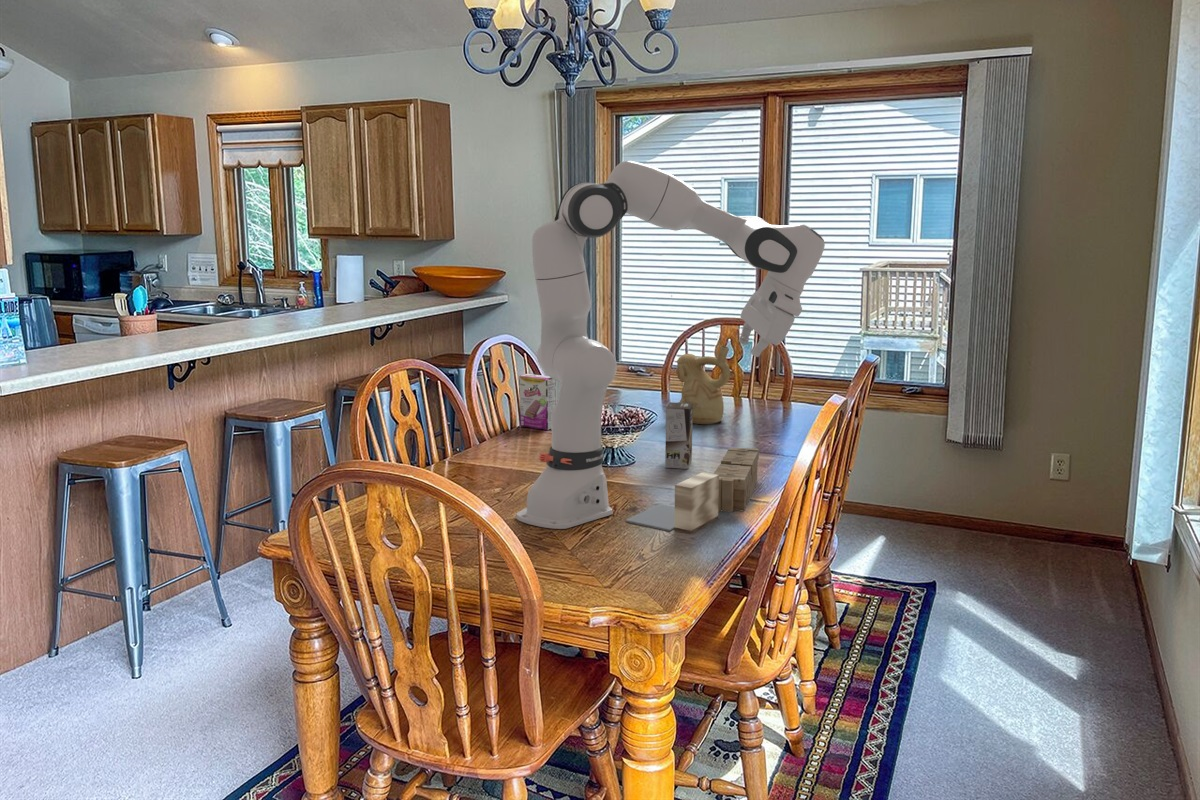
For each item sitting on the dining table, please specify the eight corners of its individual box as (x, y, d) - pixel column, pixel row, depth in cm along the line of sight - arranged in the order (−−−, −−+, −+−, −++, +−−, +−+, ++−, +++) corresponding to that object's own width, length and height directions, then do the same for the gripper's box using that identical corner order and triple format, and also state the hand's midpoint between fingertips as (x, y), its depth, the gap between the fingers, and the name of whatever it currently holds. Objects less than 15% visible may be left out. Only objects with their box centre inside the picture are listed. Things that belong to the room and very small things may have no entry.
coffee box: (689, 469, 241) (689, 408, 238) (664, 468, 242) (665, 407, 239) (692, 460, 250) (693, 402, 247) (668, 459, 251) (669, 401, 248)
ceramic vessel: (688, 412, 312) (689, 339, 307) (740, 420, 300) (742, 343, 295) (661, 421, 298) (662, 344, 293) (715, 429, 287) (716, 349, 282)
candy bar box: (518, 426, 291) (517, 375, 288) (528, 423, 296) (527, 373, 292) (547, 431, 286) (547, 378, 282) (557, 428, 290) (556, 376, 287)
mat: (669, 531, 193) (669, 529, 193) (625, 521, 199) (625, 520, 199) (702, 513, 205) (702, 512, 204) (659, 505, 211) (659, 503, 211)
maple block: (691, 534, 192) (691, 488, 190) (674, 530, 194) (674, 484, 192) (718, 519, 201) (719, 474, 199) (701, 515, 204) (702, 472, 202)
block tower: (743, 518, 205) (759, 479, 233) (744, 481, 204) (760, 446, 231) (708, 514, 208) (728, 476, 235) (708, 478, 206) (728, 444, 233)
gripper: (752, 278, 216) (723, 330, 220) (780, 300, 197) (749, 357, 201) (774, 289, 218) (746, 341, 221) (805, 312, 199) (773, 368, 202)
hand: (747, 349), depth 211 cm, fingers open, 8 cm apart
